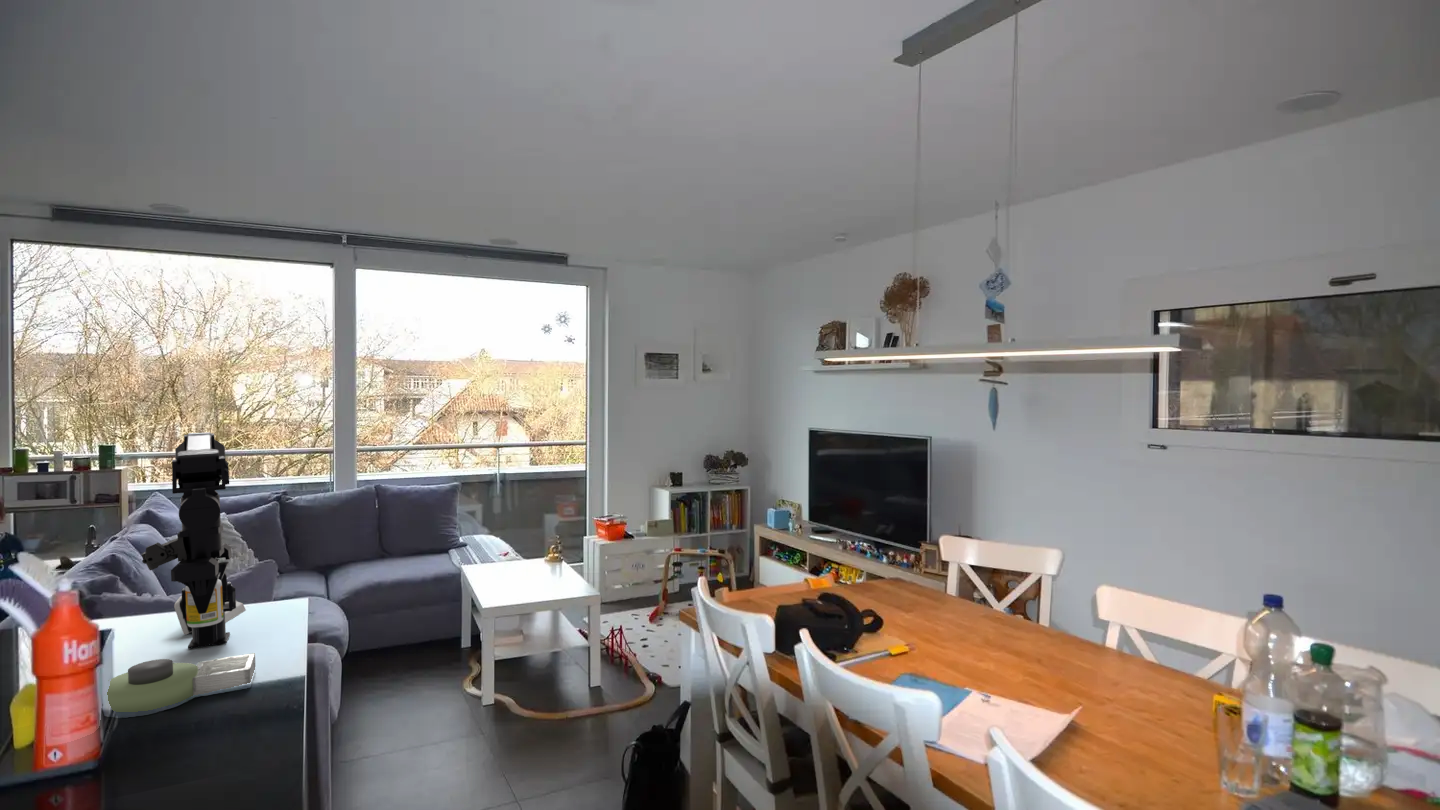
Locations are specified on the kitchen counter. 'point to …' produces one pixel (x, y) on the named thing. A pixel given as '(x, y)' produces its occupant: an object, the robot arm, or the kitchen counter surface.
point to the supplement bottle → (213, 611)
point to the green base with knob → (151, 686)
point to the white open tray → (223, 673)
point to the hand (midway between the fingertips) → (205, 609)
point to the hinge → (187, 629)
